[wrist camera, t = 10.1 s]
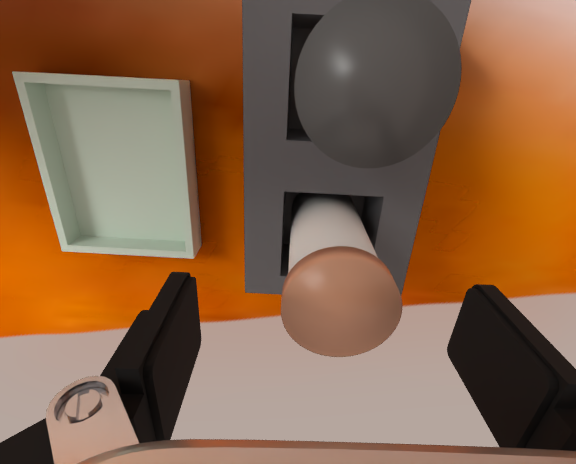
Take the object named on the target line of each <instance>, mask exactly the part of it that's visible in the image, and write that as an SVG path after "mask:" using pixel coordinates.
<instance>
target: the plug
mask: <svg viewBox="0 0 576 464" xmlns="http://www.w3.org/2000/svg"><path fill="white" fill-rule="evenodd" d="M401 313H402V299H401V295H400V292H399V289H398V287H397V285H396V283H395V281H394V279H393V277H392V275H391V273H390V271H389V269H388V268H387V267H386V265H385V264H384V263H383V262H382V261H381V260H380V259H378V257H377V255H376V252H375V250H374V248H373V246H372V244H371V241H370V239H369V237H368V235H367V232H366V230H365V228H364V226H363V224H362V221H361V219H360V217H359V215H358V212H357V210H356V208H355V206H354V204H353V201H352V199H351V197H350V195H339V194H321V193H303V192H299V193H298V195H297V196H296V198H295V199H294V202H293V205H292V210H291V230H290V249H289V269H288V275H287V277H286V279H285V282H284V285H283V290H282V302H281V316H282V321H283V324H284V327H285V329H286V331H287V332H288V334H289V335H290V336H291V337H292V339H294V340H295V342H297V343H298V344H299V345H300V346H302V347H304V348H306V349H307V350H309V351H312V352H314V353H317V354H320V355H324V356H331V357H346V356H353V355H358V354H361V353H364V352H367V351H369V350H371V349H373V348H375V347H377V346H378V345H380V344H382V343H383V342H384V341H385V340H386V339H387V338H388V337H389V336H390V335H391V334H392V333H393V331H394V330H395V329H396V326H397V325H398V323H399V321H400V318H401Z"/></svg>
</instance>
